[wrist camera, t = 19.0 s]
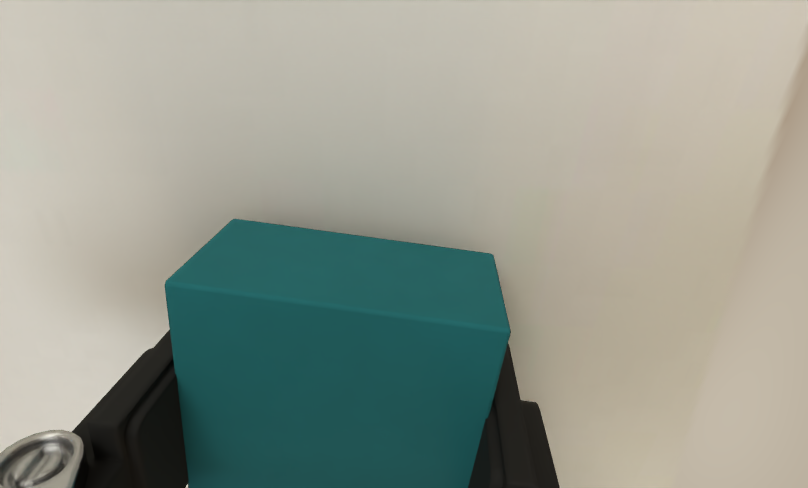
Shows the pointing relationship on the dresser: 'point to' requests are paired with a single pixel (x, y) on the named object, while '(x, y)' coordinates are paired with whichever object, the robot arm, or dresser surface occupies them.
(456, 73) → the dresser surface
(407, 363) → the teal pad
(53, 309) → the dresser surface
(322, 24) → the dresser surface
